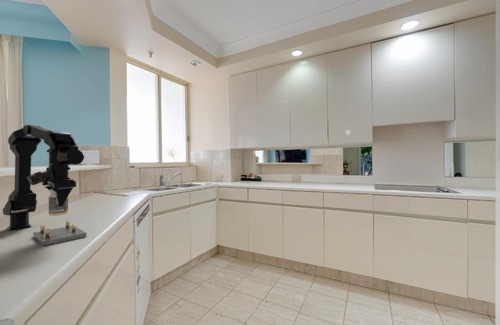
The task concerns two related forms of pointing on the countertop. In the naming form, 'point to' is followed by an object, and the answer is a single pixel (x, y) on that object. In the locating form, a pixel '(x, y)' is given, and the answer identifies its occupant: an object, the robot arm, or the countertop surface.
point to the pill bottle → (56, 205)
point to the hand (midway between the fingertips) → (58, 205)
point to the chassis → (58, 234)
